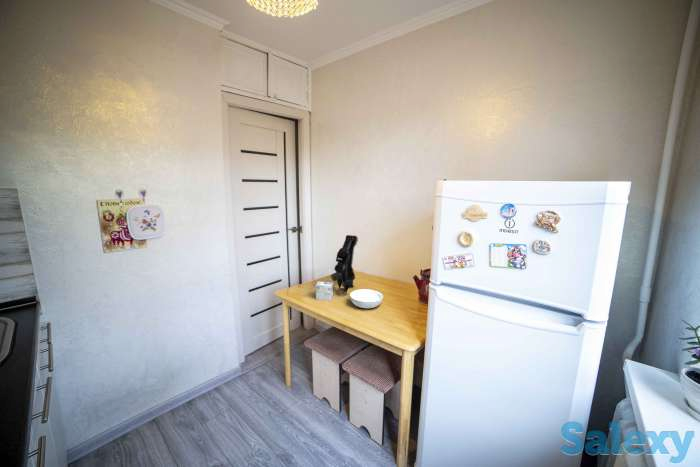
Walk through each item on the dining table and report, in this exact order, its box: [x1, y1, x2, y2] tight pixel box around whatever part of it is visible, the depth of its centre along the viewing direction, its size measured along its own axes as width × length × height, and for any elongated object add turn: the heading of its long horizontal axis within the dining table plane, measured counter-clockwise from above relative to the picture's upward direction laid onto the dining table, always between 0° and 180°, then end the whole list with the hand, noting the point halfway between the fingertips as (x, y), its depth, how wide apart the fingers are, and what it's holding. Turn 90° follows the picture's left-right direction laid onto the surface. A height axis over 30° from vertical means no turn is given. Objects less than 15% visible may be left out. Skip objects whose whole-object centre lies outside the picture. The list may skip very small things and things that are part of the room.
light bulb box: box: [315, 281, 334, 301], centre depth 184 cm, size 11×7×11 cm, turn 84°
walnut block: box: [337, 287, 348, 297], centre depth 192 cm, size 5×5×4 cm
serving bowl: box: [349, 288, 384, 309], centre depth 176 cm, size 21×21×7 cm
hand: (342, 290), depth 192 cm, fingers open, 9 cm apart
